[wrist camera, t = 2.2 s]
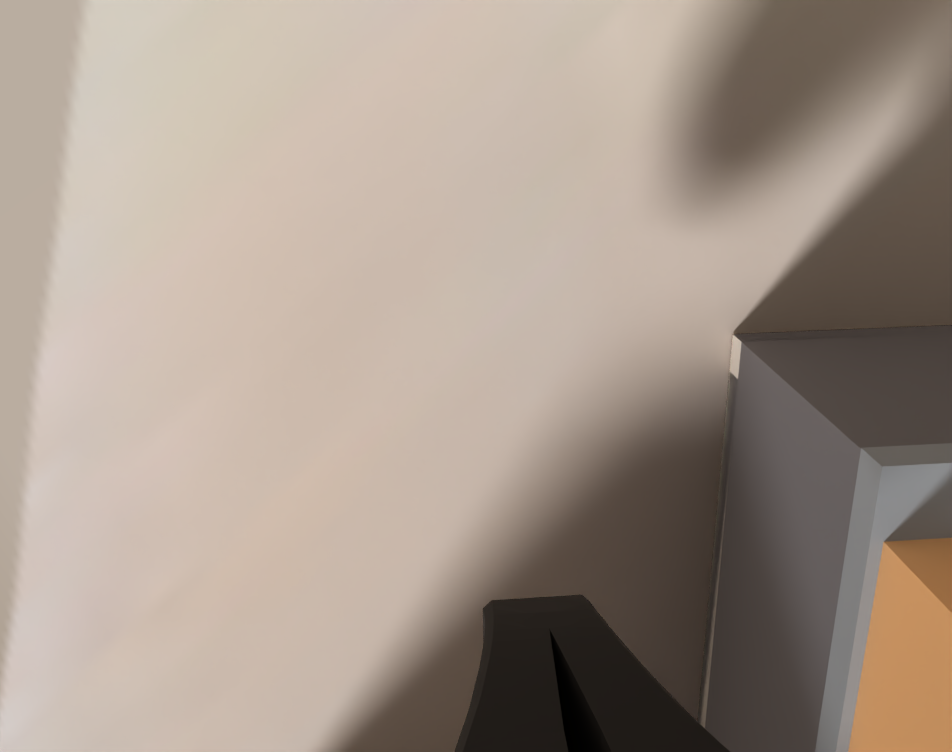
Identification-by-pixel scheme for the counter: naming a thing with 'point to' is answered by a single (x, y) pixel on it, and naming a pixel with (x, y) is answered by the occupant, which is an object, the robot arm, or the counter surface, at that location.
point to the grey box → (801, 511)
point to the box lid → (894, 609)
